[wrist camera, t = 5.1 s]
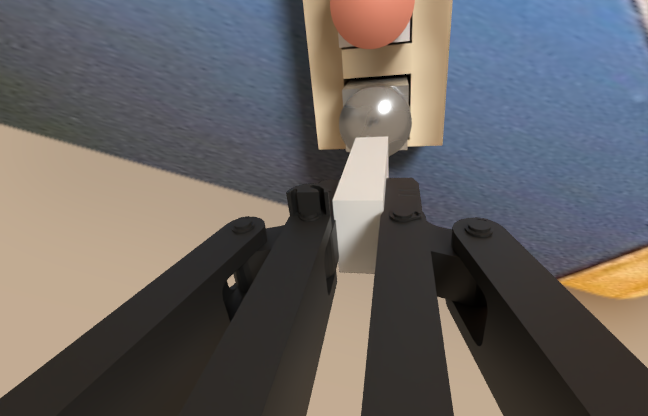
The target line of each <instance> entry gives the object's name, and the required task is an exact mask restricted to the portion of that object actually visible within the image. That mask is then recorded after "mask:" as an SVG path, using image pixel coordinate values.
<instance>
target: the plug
mask: <svg viewBox="0 0 648 416" xmlns="http://www.w3.org/2000/svg"><path fill="white" fill-rule="evenodd" d="M342 97H343V109H342V111H341V114H340V118H339V130H340V134H341V137H342V140H343V141H344V143H345V145H346V152H351V149H352V147H353V144H354V141H355V138H360V137H385V136H388V157H389V156H391V155H393V154H394V153H396V152H397V151H398V150H407V145H408V138H409V135H410V132H411V127H412V118H411V112H410V108H409V105H408V97H409V84H408V80H407V76H394V77H381V78H368V79H355V80H349V82H348V83H347V84H346V85H345V87H344V88H343V89H342Z"/></svg>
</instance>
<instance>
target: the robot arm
mask: <svg viewBox="0 0 648 416" xmlns="http://www.w3.org/2000/svg"><path fill="white" fill-rule="evenodd" d="M286 194H287V200H288V207H289V212H290V217H289V218H288V220H287V222H286V224H285V225H283V226H278V227H272V228H267V229H266V228H265V223H264V221H263V220H262V219H260V218H257V217H249V216H248V217H241V218H238V219H236V220H233V221H231V222H230V223H228V224H226V225H225V226H224V227H223V228H221V229H220V230H219V231H217V232H216V233H215V234H213V235H212V236H211V237H209V238H208V239H207V240H206V241H204V242H203V243H202V244H200V245H199V246H198V247H197V248H195V249H194V250H193V251H191V252H190V253H189V254H187V255H186V256H185V257H184V258H182V259H181V260H180V261H178V262H177V263H176V264H175V265H173V266H172V267H170V268H169V269H168V270H167V271H165V272H164V273H163V274H161V275H160V276H159V277H158V278H156V279H155V280H154V281H152V282H151V283H150V284H148V285H147V286H146V287H145V288H143V289H142V290H141V291H139V292H138V293H137V294H135V295H134V296H133V297H132V298H130V299H129V300H128V301H126V302H125V303H124V304H122V305H121V306H120V307H119V308H117V309H116V310H115V311H113V312H112V313H111V314H109V315H108V316H107V317H106V318H104V319H103V320H102V321H100V322H99V323H98V324H96V325H95V326H94V327H93V328H91V329H90V330H89V331H87V332H86V333H85V334H83V335H82V336H81V337H80V338H78V339H77V340H76V341H74V342H73V343H72V344H71V345H69V346H68V347H67V348H65V349H64V350H63V351H61V352H60V353H59V354H57V355H56V356H55V357H54V358H52V359H51V360H50V361H48V362H47V363H46V364H44V365H43V366H42V367H41V368H39V369H38V370H37V371H36V372H34V373H33V374H32V375H30V376H29V377H28V378H26V379H25V380H24V381H22V382H21V383H20V384H19V385H17V386H16V387H15V388H13V389H12V390H11V391H9V392H8V393H7V394H5V395H4V396H3V397H2V398H0V416H306V414H307V410H308V405H309V401H310V397H311V393H312V388H313V384H314V380H315V375H316V371H317V367H318V362H319V358H320V353H321V349H322V345H323V341H324V336H325V332H326V328H327V323H328V319H329V314H330V310H331V306H332V302H333V297H334V293H335V289H336V284H337V275H336V267H337V263H338V265H339V272H344V273H345V272H346V273H366V274H375V276H374V287H373V298H372V308H371V318H370V328H369V339H368V349H367V360H366V371H365V381H364V391H363V401H362V411H361V416H454V413H453V406H452V400H451V392H450V385H449V378H448V371H447V364H446V357H445V350H444V342H443V335H442V328H441V321H440V314H439V307H438V300H437V296H438V297H441V298H445V299H446V304H447V307H448V309H449V311H450V313H451V315H452V317H453V319H454V321H455V323H456V324H457V327H458V329H459V331H460V333H461V334H462V336H463V338H464V340H465V342H466V344H467V346H468V348H469V350H470V352H471V354H472V356H473V357H474V360H475V362H476V363H477V365H478V367H479V369H480V371H481V373H482V375H483V377H484V379H485V381H486V383H487V385H488V387H489V388H490V390H491V393H492V394H493V396H494V398H495V400H496V402H497V404H498V406H499V408H500V410H501V412H502V414H503V415H504V416H648V368H647V367H646V366H645V365H644V364H643V363H642V362H641V361H640V360H639V359H637V357H636V356H634V354H633V353H631V352H630V351H629V350H628V349H627V348H626V347H625V346H624V345H623V344H622V343H621V342H620V341H619V340H618V339H617V338H616V337H615V336H614V335H613V334H612V333H611V332H610V331H609V330H608V329H607V328H606V327H605V326H604V325H603V324H602V323H601V322H600V321H599V320H598V319H597V318H596V317H595V316H594V315H593V314H592V313H591V312H589V310H587V309H586V308H585V307H584V306H583V305H582V304H581V303H580V302H579V301H578V300H577V299H576V298H575V297H574V296H573V295H572V294H571V293H570V292H569V291H568V290H567V289H566V288H565V287H564V286H563V285H562V284H561V283H560V282H559V281H558V280H557V279H556V278H555V277H554V276H553V275H552V274H551V273H550V272H549V271H548V270H547V269H546V268H545V267H544V266H543V265H541V264H540V263H539V262H538V261H537V260H536V259H535V258H534V257H533V256H532V255H531V254H530V253H529V252H528V251H527V250H526V249H525V248H524V247H523V246H522V245H521V244H520V243H519V242H518V241H517V240H516V239H515V238H514V237H513V236H512V235H511V234H510V233H509V232H508V231H507V230H506V229H505V228H504V227H502V226H501V225H499V224H498V223H496V222H493V221H491V220H488V219H485V218H477V217H476V218H466V219H461V220H459V221H457V222H455V223H454V225H453V227H452V229H446V228H442V227H438V226H435V225H433V224H431V223H429V222H428V221H426V216H425V214H424V213H423V212H422V206H421V198H420V191H419V183H418V182H417V181H415V180H414V179H413V178H389V177H388V136H385V137H360V138H355V141H354V144H353V147H352V149H351V152H350V155H349V157H348V160H347V163H346V165H345V168H344V171H343V174H342V176H341V179H340V180H323V181H321V182H320V183H318V184H303V185H299V186H295V187H293V188H291V189H289V190H288V191H287V192H286ZM232 274H234V278H235V282H236V283H235V284H234V285H233V286H231V287H230V288H229V286H228V283H227V279H228V278H229V277H230V276H231V275H232Z"/></svg>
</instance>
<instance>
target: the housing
mask: <svg viewBox="0 0 648 416" xmlns="http://www.w3.org/2000/svg"><path fill="white" fill-rule="evenodd" d="M303 6H304V16H305V25H306V35H307V44H308V53H309V63H310V72H311V82H312V91H313V100H314V110H315V119H316V128H317V138H318V147H319V150H323V149H346V145H345V143H344V141H343V140H342V137H341V134H340V130H339V118H340V114H341V111H342V109H343V97H342V89H343V88H344V87H345V85H346V84H347V83H348V82H349V80H351V78H361V77H374V76H387V75H400V74H409V80H408V84H409V97H408V105H409V108H410V112H411V118H412V127H411V132H410V135H409V138H408V145H407V147H409V146H437V145H442V142H443V128H444V114H445V100H446V85H447V71H448V57H449V43H450V28H451V14H452V0H415V4H414V10H413V13H412V16H411V19H410V41H403V42H393V43H389V44H388V45H386V46H383V47H380V48H376V49H362V48H358V47H356V46H352V47H342V48H339V38H338V31H337V29H336V27H335V25H334V23H333V20H332V16H331V11H330V0H303Z"/></svg>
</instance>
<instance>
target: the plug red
mask: <svg viewBox="0 0 648 416" xmlns="http://www.w3.org/2000/svg"><path fill="white" fill-rule="evenodd" d="M414 4H415V0H330V11H331V16H332V20H333V23H334V25H335V27H336V29H337V31H338V38H339V48H342V47H352V46H356V47H358V48H362V49H376V48H380V47H383V46H386V45H388V44H389V43H393V42H403V41H410V19H411V16H412V13H413V10H414Z"/></svg>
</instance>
